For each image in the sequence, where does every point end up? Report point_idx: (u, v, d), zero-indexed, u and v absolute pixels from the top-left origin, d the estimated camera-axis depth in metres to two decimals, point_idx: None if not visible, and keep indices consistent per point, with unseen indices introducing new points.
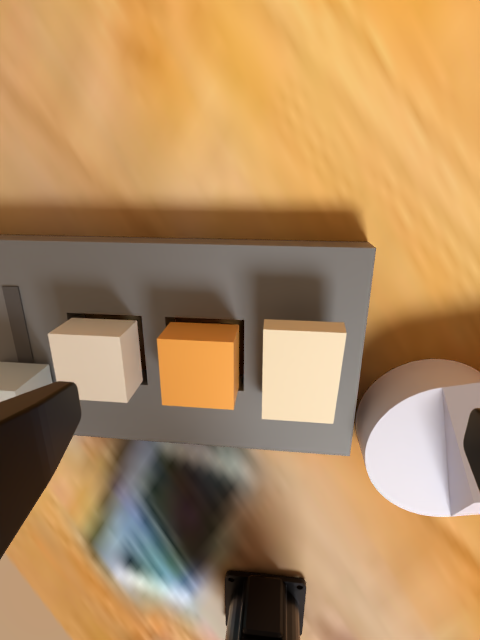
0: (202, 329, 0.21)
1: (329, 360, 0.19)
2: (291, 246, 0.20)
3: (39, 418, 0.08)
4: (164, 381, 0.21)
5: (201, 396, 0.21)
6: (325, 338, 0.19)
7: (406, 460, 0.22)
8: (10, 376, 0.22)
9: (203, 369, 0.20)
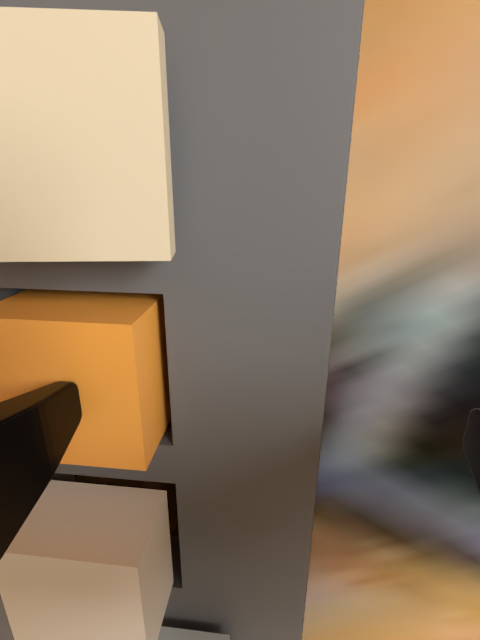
0: None
1: None
2: None
3: (40, 418, 0.08)
4: (88, 458, 0.10)
5: (108, 392, 0.09)
6: None
7: None
8: None
9: (42, 383, 0.09)
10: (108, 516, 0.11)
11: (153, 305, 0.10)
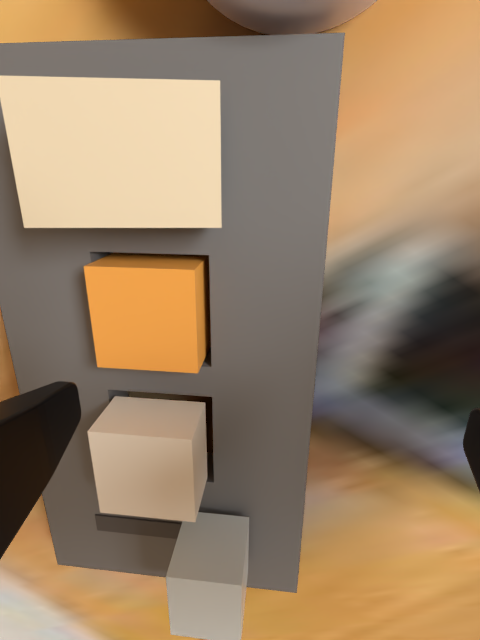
0: None
1: (63, 103, 0.11)
2: None
3: (39, 418, 0.08)
4: (159, 365, 0.15)
5: (176, 317, 0.14)
6: (16, 116, 0.11)
7: None
8: None
9: (132, 311, 0.14)
10: (166, 415, 0.15)
11: (203, 262, 0.15)
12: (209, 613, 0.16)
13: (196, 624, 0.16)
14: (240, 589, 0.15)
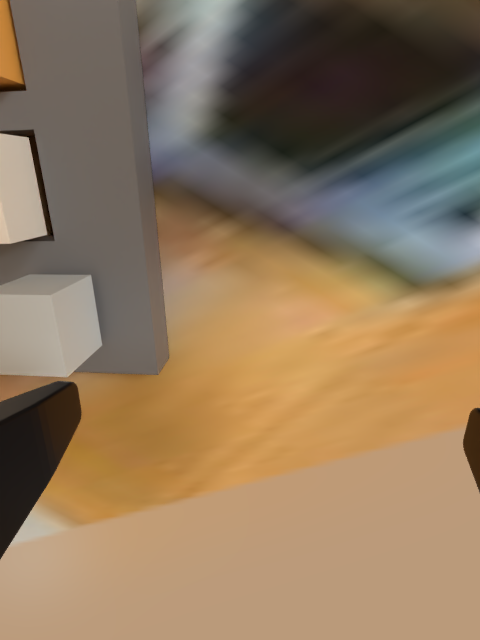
0: None
1: None
2: None
3: (39, 418, 0.08)
4: None
5: None
6: None
7: None
8: None
9: None
10: None
11: None
12: (29, 339, 0.15)
13: (20, 356, 0.16)
14: (50, 300, 0.15)
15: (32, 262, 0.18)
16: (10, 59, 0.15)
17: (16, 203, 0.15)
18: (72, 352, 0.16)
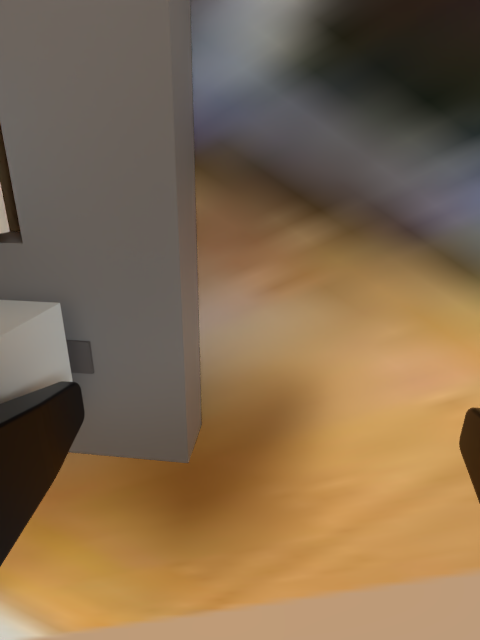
0: None
1: None
2: None
3: (43, 418, 0.08)
4: None
5: None
6: None
7: None
8: None
9: None
10: None
11: None
12: None
13: None
14: None
15: None
16: None
17: None
18: None
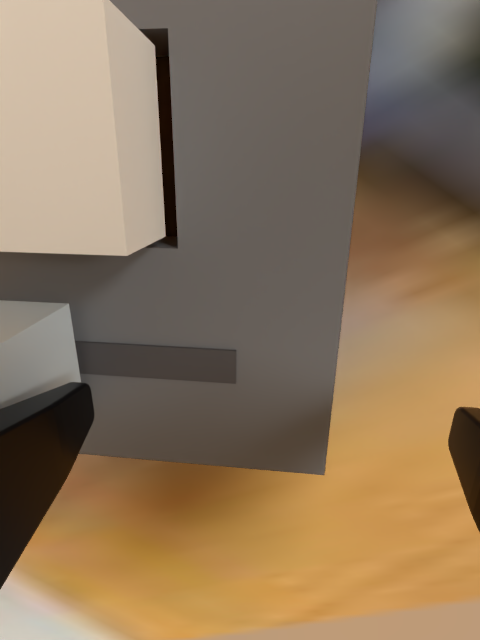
0: None
1: None
2: None
3: (55, 419, 0.08)
4: None
5: None
6: None
7: None
8: None
9: None
10: None
11: None
12: None
13: None
14: None
15: (130, 283, 0.10)
16: None
17: (137, 173, 0.07)
18: None
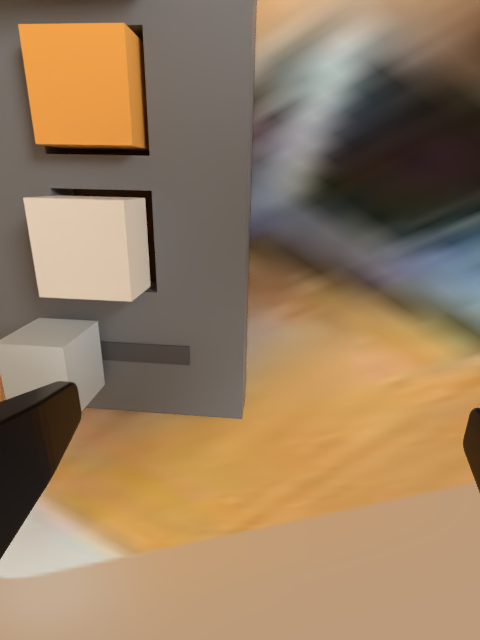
0: None
1: None
2: None
3: (39, 418, 0.08)
4: (94, 138, 0.15)
5: (108, 79, 0.14)
6: None
7: None
8: None
9: (66, 75, 0.14)
10: (104, 198, 0.16)
11: (138, 38, 0.15)
12: (39, 385, 0.16)
13: None
14: (62, 352, 0.16)
15: (131, 310, 0.19)
16: (139, 127, 0.16)
17: (136, 262, 0.16)
18: (79, 396, 0.17)
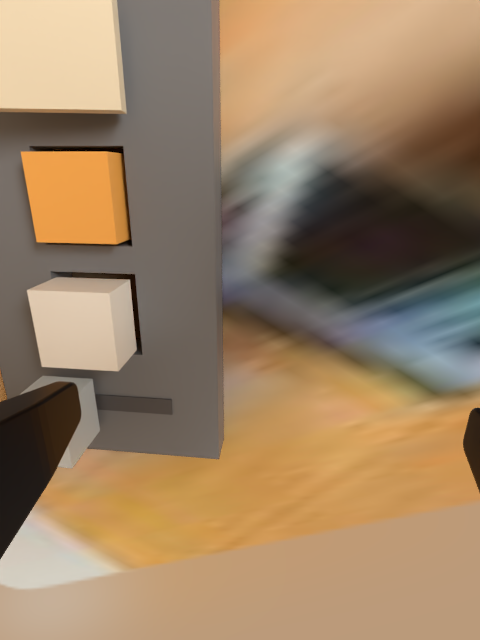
0: None
1: None
2: None
3: (39, 418, 0.08)
4: (85, 238, 0.18)
5: (95, 193, 0.17)
6: None
7: None
8: None
9: (60, 190, 0.17)
10: (94, 284, 0.19)
11: (120, 154, 0.18)
12: None
13: None
14: None
15: (121, 369, 0.22)
16: (123, 225, 0.19)
17: (122, 337, 0.19)
18: (76, 447, 0.20)
